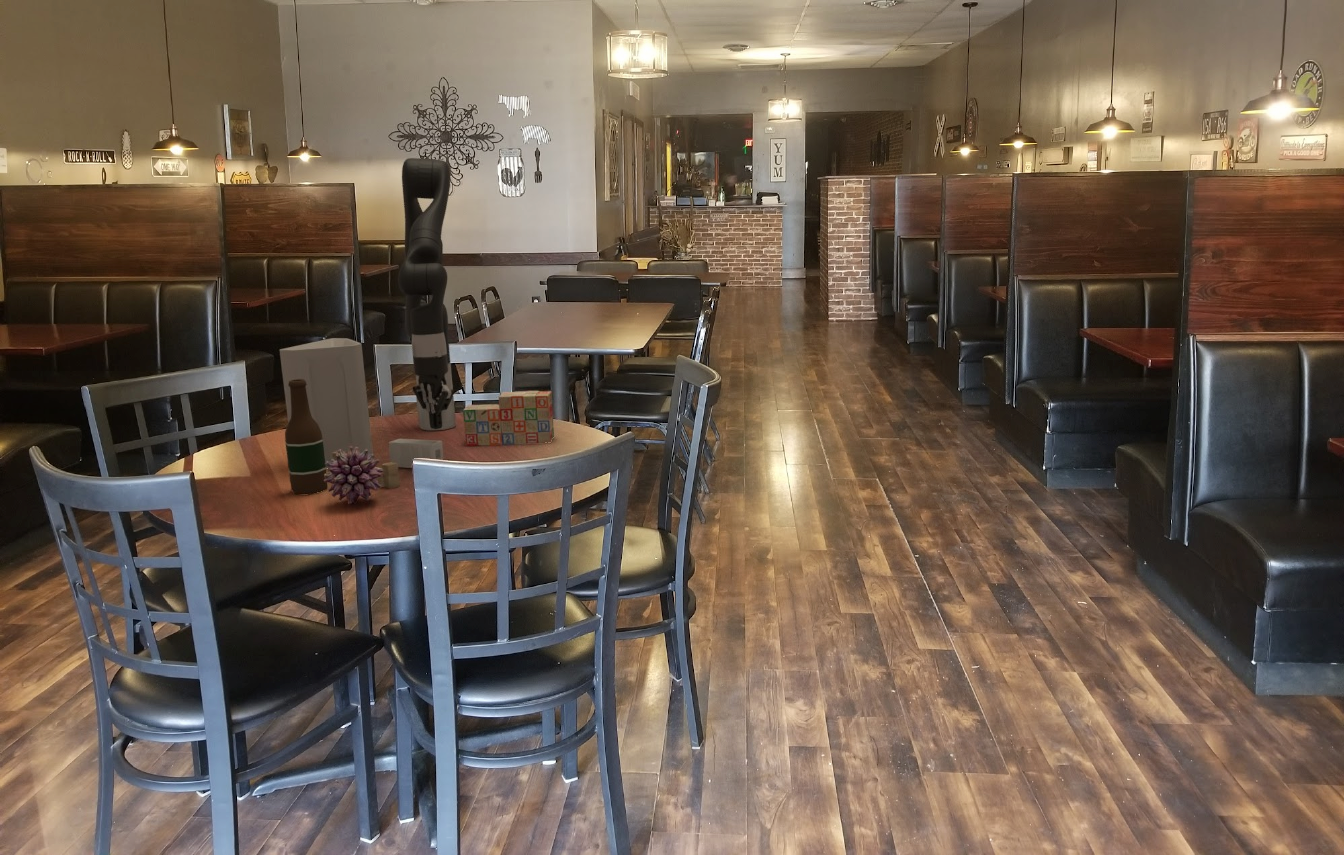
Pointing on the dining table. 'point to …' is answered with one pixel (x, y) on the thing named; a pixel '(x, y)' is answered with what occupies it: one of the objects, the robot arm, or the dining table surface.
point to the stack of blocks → (511, 420)
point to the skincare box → (414, 451)
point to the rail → (384, 473)
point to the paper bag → (332, 391)
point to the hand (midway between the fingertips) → (436, 428)
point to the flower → (353, 475)
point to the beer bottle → (304, 444)
